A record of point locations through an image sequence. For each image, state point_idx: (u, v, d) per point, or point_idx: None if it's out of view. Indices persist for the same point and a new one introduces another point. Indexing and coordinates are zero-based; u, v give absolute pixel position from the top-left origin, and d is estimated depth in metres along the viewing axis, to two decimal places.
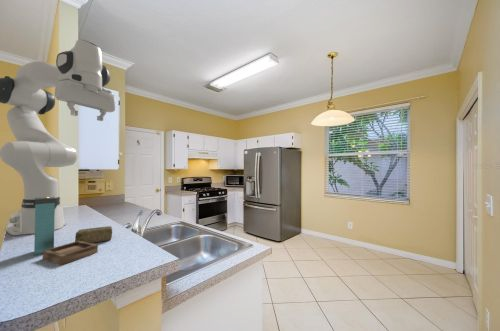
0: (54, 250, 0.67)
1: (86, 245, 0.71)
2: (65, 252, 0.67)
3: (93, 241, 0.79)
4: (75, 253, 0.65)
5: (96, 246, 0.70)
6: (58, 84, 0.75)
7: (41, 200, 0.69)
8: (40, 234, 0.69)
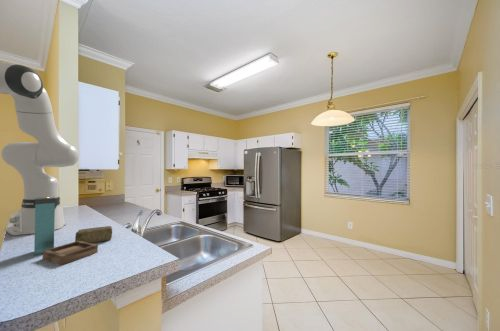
0: (54, 250, 0.67)
1: (86, 245, 0.71)
2: (65, 252, 0.67)
3: (93, 241, 0.79)
4: (75, 253, 0.65)
5: (96, 246, 0.70)
6: None
7: (41, 200, 0.69)
8: (40, 234, 0.69)
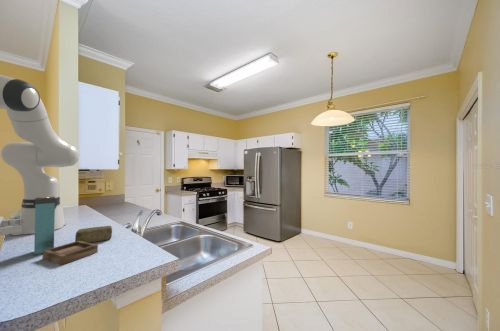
0: (54, 250, 0.67)
1: (86, 245, 0.71)
2: (65, 252, 0.67)
3: (93, 240, 0.79)
4: (75, 253, 0.65)
5: (96, 246, 0.70)
6: None
7: (41, 200, 0.69)
8: (40, 234, 0.69)
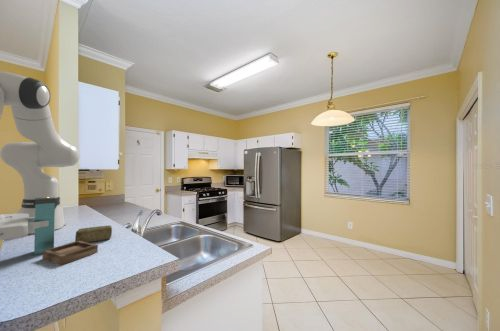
0: (54, 250, 0.67)
1: (86, 245, 0.71)
2: (65, 252, 0.67)
3: (93, 240, 0.80)
4: (75, 253, 0.65)
5: (96, 246, 0.70)
6: None
7: (41, 200, 0.69)
8: (40, 234, 0.69)
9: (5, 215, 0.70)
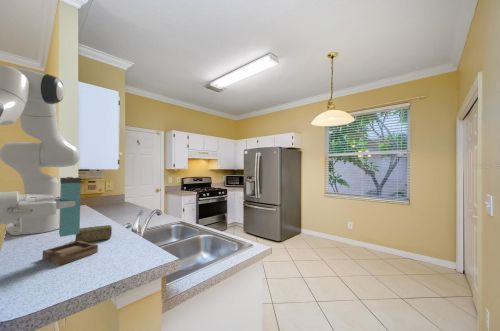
0: (54, 250, 0.67)
1: (86, 245, 0.71)
2: (65, 252, 0.67)
3: (93, 239, 0.80)
4: (75, 253, 0.65)
5: (96, 246, 0.70)
6: None
7: (67, 179, 0.66)
8: (66, 215, 0.65)
9: (29, 195, 0.67)
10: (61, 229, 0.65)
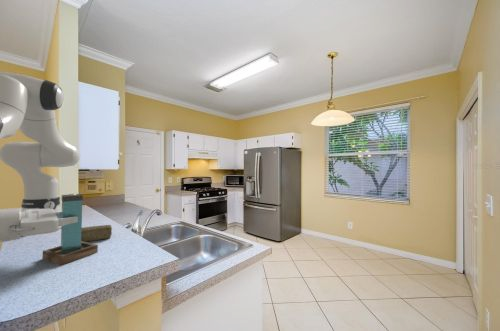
0: (54, 250, 0.67)
1: (86, 245, 0.71)
2: None
3: (93, 239, 0.81)
4: (75, 253, 0.65)
5: (96, 246, 0.70)
6: None
7: (69, 197, 0.66)
8: (67, 233, 0.66)
9: (31, 210, 0.67)
10: (63, 247, 0.65)
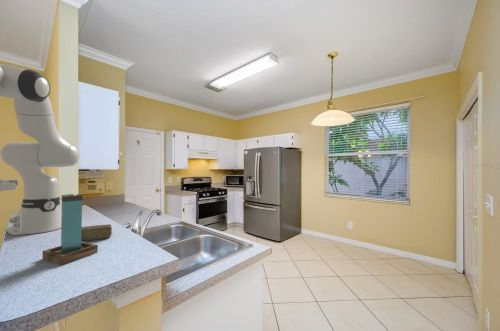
0: (54, 250, 0.67)
1: (86, 245, 0.71)
2: None
3: (92, 238, 0.82)
4: (75, 253, 0.65)
5: (96, 246, 0.70)
6: None
7: (69, 197, 0.66)
8: (67, 233, 0.66)
9: None
10: (63, 247, 0.65)
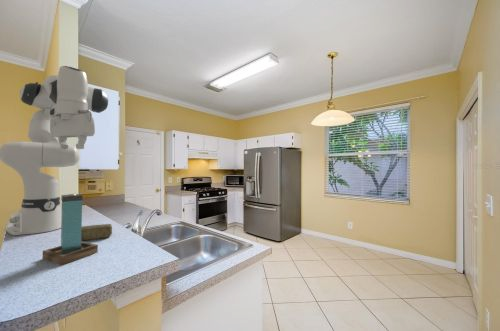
0: (54, 250, 0.67)
1: (86, 245, 0.71)
2: None
3: (92, 238, 0.82)
4: (75, 253, 0.65)
5: (96, 246, 0.70)
6: None
7: (69, 197, 0.66)
8: (67, 233, 0.66)
9: None
10: (63, 247, 0.65)
